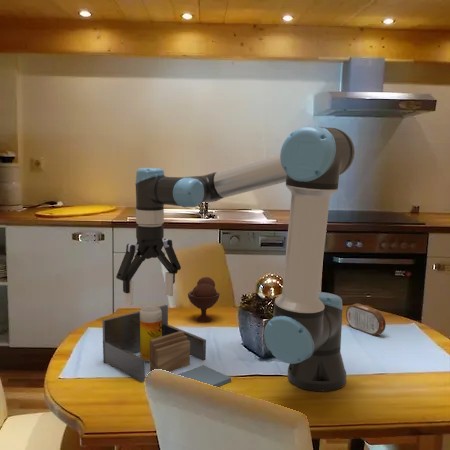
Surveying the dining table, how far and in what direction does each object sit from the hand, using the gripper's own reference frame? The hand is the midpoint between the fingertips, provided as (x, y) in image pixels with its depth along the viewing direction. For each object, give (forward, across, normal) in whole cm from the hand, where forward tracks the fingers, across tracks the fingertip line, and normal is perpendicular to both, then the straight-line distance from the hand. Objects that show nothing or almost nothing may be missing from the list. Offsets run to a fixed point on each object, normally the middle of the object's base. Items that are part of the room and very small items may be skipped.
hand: (149, 299), depth 151 cm
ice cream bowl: (+18, -34, -16) cm, 41 cm away
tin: (+17, -66, +28) cm, 74 cm away
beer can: (+18, 0, 0) cm, 18 cm away
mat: (+17, -1, +21) cm, 27 cm away
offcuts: (+17, 0, +9) cm, 20 cm away
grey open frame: (+17, 0, +2) cm, 17 cm away
